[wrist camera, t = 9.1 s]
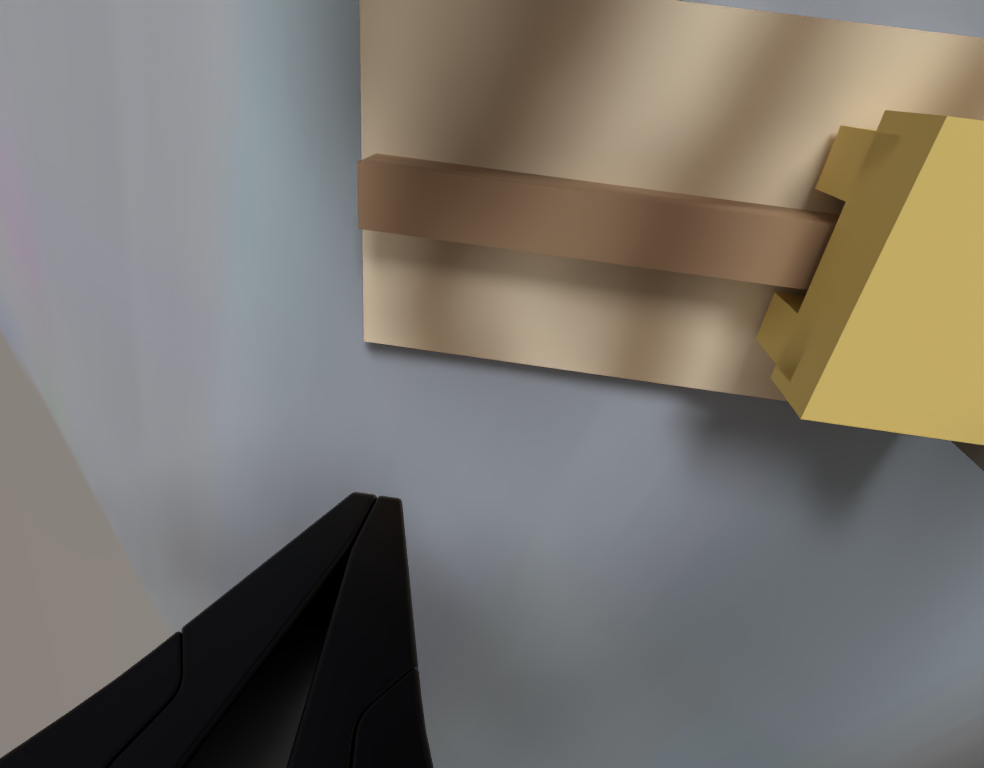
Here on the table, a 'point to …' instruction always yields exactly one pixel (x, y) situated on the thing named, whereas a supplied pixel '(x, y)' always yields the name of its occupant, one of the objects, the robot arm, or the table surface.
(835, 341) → the block
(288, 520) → the table surface
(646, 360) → the track
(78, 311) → the table surface
